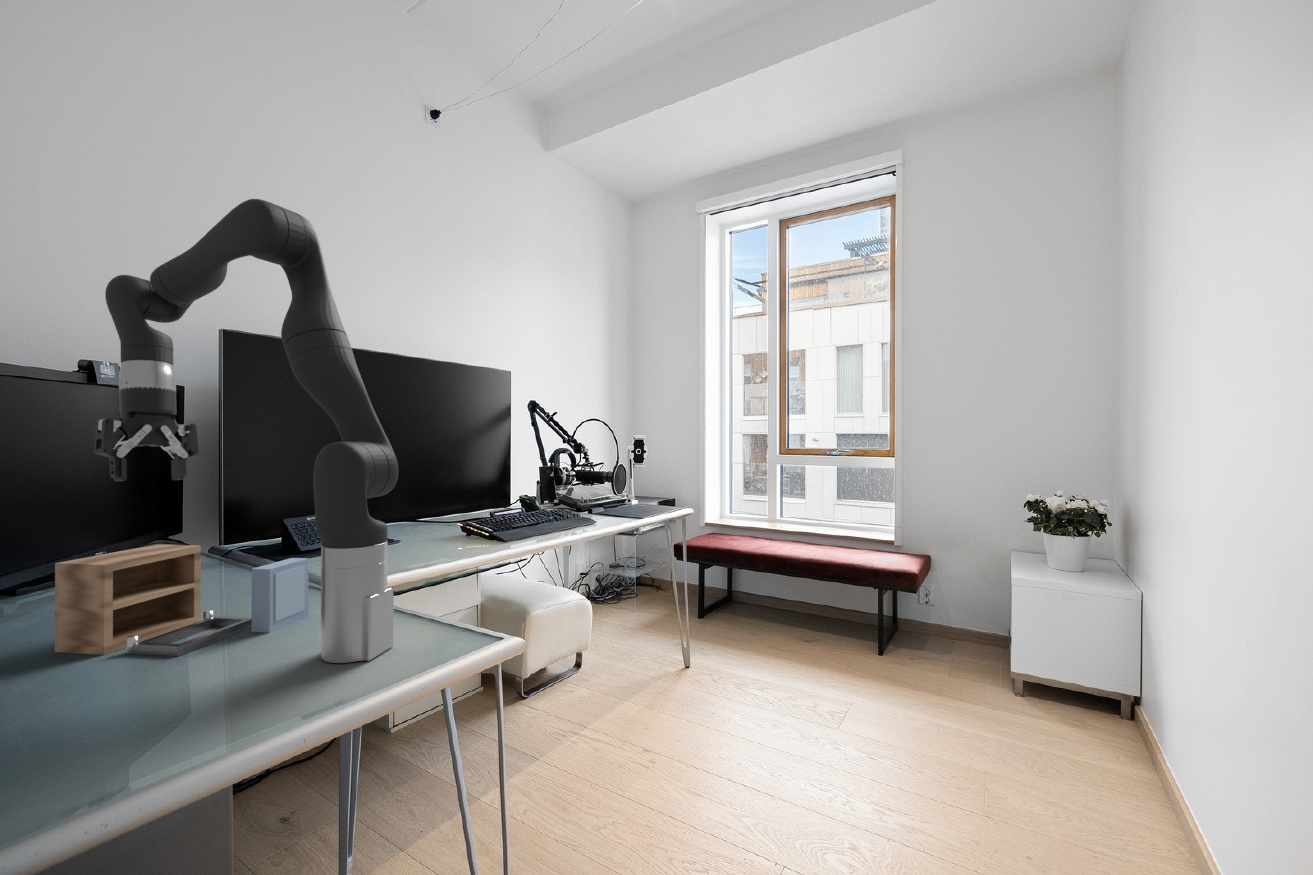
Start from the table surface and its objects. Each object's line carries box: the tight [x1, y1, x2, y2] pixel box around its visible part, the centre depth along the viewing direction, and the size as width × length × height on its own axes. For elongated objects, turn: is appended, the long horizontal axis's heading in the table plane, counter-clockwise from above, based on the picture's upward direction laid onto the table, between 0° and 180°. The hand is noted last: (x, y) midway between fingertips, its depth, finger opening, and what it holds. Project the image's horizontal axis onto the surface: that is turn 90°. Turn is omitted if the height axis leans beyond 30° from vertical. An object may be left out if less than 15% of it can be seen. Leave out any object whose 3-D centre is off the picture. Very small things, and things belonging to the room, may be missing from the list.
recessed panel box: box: [251, 557, 309, 634], centre depth 102 cm, size 4×9×11 cm, turn 173°
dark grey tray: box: [125, 609, 252, 657], centre depth 94 cm, size 10×14×2 cm, turn 173°
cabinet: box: [54, 543, 202, 656], centre depth 96 cm, size 9×16×14 cm, turn 173°
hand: (150, 480), depth 99 cm, fingers open, 8 cm apart
